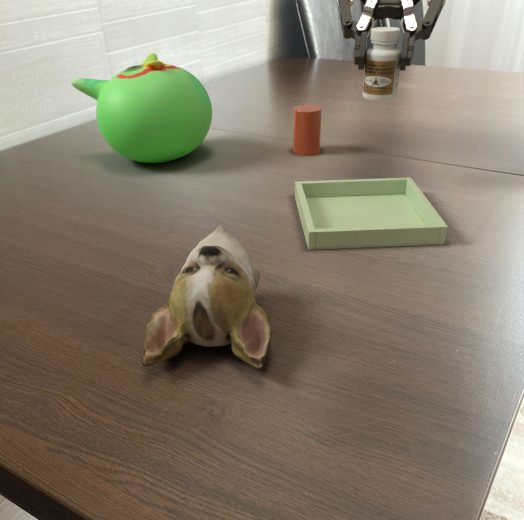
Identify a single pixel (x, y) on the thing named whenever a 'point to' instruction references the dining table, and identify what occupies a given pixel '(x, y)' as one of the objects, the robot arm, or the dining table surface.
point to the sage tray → (367, 214)
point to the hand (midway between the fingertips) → (382, 65)
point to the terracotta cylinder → (306, 129)
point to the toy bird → (151, 111)
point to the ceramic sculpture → (212, 305)
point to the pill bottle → (382, 65)
